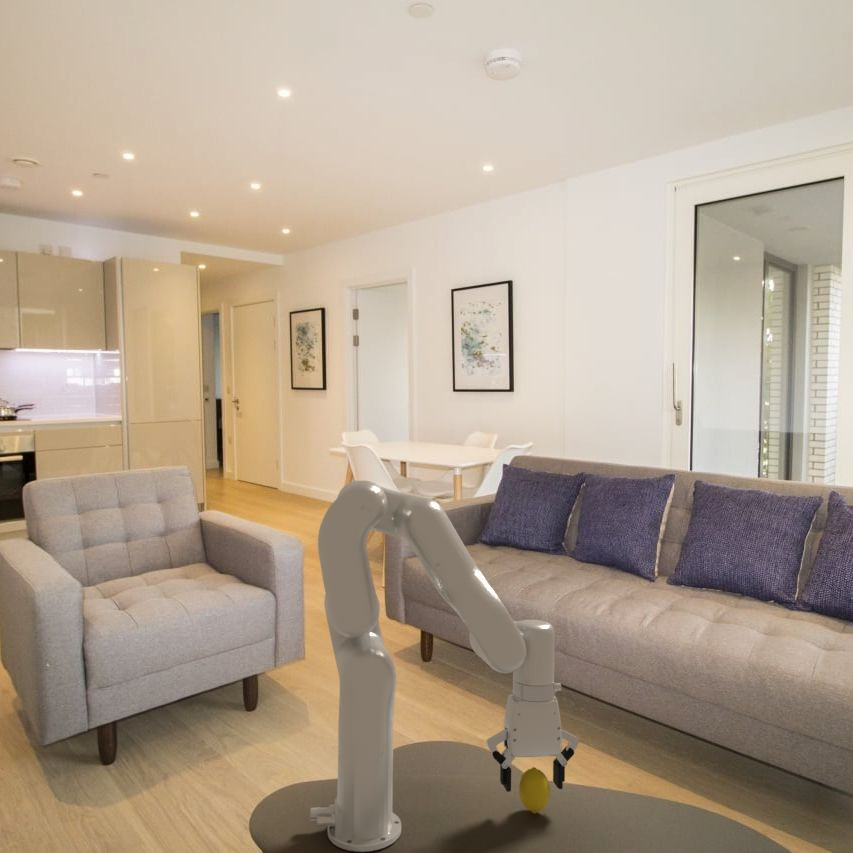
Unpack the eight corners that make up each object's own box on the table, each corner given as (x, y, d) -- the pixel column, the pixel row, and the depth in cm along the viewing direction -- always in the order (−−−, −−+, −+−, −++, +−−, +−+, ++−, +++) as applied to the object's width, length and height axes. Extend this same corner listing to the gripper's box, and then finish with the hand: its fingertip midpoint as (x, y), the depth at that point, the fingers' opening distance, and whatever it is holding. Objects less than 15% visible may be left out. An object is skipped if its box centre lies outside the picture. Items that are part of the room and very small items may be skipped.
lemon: (518, 819, 114) (518, 773, 115) (520, 804, 119) (519, 759, 120) (550, 823, 113) (549, 776, 113) (550, 807, 118) (549, 762, 119)
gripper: (570, 682, 123) (570, 775, 121) (482, 684, 120) (481, 779, 119) (586, 695, 115) (585, 794, 114) (492, 698, 113) (491, 799, 111)
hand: (532, 786), depth 116 cm, fingers open, 9 cm apart
